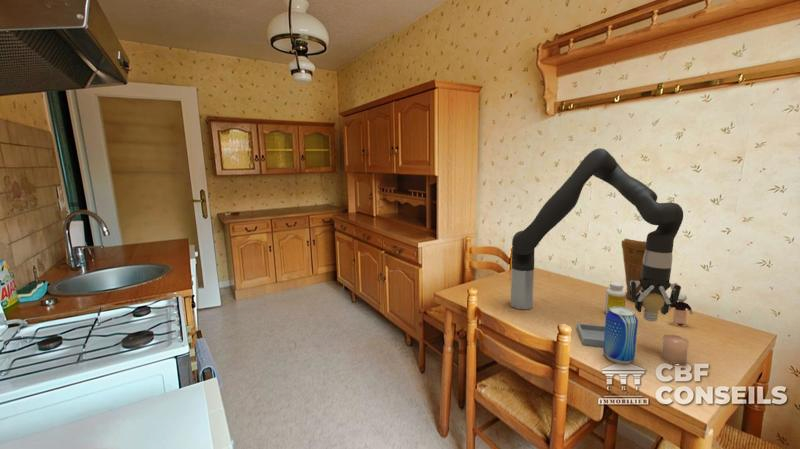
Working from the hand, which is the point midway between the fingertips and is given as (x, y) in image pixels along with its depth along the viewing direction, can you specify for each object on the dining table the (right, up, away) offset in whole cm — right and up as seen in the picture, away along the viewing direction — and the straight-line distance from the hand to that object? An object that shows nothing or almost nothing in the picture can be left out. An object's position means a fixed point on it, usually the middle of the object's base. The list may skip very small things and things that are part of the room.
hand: (650, 312), depth 115 cm
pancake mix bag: (+22, -6, +37) cm, 43 cm away
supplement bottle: (+4, -8, +27) cm, 28 cm away
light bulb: (0, -3, 0) cm, 3 cm away
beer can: (-14, -14, -5) cm, 20 cm away
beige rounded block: (+2, -13, -7) cm, 15 cm away
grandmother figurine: (+22, -9, +16) cm, 29 cm away
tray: (-13, -11, +8) cm, 19 cm away
